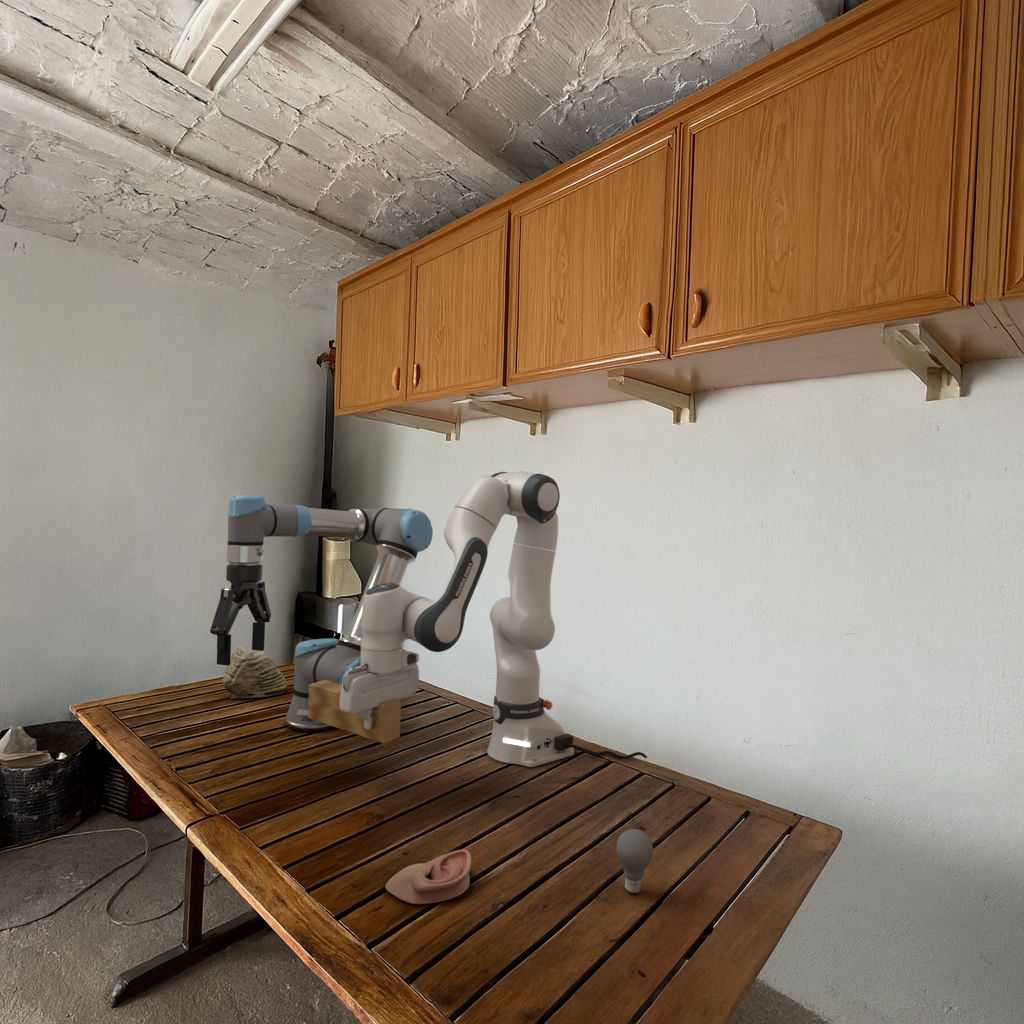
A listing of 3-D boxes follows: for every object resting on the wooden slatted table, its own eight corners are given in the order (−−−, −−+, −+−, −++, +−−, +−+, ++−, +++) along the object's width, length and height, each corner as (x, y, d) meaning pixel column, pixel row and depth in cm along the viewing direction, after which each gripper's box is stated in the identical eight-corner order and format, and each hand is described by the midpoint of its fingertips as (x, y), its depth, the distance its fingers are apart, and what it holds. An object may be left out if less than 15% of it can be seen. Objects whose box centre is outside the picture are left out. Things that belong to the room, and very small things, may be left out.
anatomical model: (378, 873, 101) (404, 836, 112) (377, 898, 101) (403, 858, 112) (458, 887, 98) (477, 848, 109) (457, 912, 98) (476, 870, 109)
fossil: (218, 695, 195) (220, 647, 195) (278, 685, 208) (279, 640, 207) (228, 703, 189) (230, 653, 188) (289, 692, 201) (290, 645, 201)
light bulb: (610, 879, 108) (613, 822, 108) (644, 879, 109) (647, 822, 109) (619, 902, 102) (622, 840, 102) (655, 901, 103) (658, 840, 103)
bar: (308, 717, 146) (308, 684, 145) (324, 712, 150) (325, 679, 149) (384, 743, 132) (385, 706, 132) (399, 737, 136) (400, 701, 136)
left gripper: (227, 570, 130) (223, 672, 130) (288, 559, 155) (284, 646, 155) (193, 568, 131) (190, 669, 132) (259, 557, 156) (256, 643, 156)
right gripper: (354, 673, 125) (353, 742, 126) (424, 653, 142) (422, 714, 143) (333, 667, 129) (331, 734, 129) (403, 648, 146) (402, 708, 146)
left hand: (241, 657), depth 143 cm, fingers open, 13 cm apart
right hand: (380, 723), depth 136 cm, fingers closed on bar, 5 cm apart
